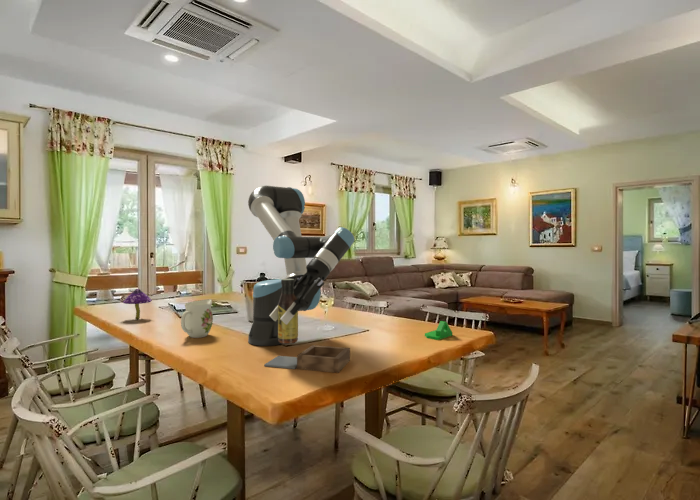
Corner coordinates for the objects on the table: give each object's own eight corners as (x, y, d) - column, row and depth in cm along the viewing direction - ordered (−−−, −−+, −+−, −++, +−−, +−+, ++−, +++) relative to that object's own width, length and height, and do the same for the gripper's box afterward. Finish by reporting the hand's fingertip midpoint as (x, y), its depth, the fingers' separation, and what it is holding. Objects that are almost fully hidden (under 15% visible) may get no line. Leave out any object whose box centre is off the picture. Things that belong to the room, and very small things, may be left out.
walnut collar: (297, 368, 121) (297, 355, 121) (312, 357, 134) (312, 345, 134) (338, 372, 118) (338, 359, 118) (349, 360, 130) (349, 348, 130)
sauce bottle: (278, 340, 129) (278, 278, 129) (298, 339, 129) (298, 277, 129) (277, 345, 122) (276, 279, 122) (297, 344, 123) (297, 279, 123)
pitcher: (169, 340, 154) (169, 304, 154) (199, 330, 172) (199, 298, 172) (194, 342, 152) (194, 306, 151) (221, 332, 169) (221, 299, 169)
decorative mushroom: (118, 319, 195) (118, 288, 194) (145, 316, 204) (145, 286, 204) (129, 323, 187) (129, 290, 186) (156, 319, 196) (156, 288, 196)
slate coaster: (264, 366, 123) (264, 364, 123) (278, 357, 133) (278, 355, 133) (294, 369, 121) (294, 367, 121) (306, 359, 130) (306, 358, 130)
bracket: (435, 333, 173) (436, 317, 173) (452, 336, 168) (452, 319, 168) (421, 338, 164) (421, 321, 164) (437, 341, 159) (438, 323, 159)
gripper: (345, 274, 128) (302, 332, 118) (312, 271, 143) (270, 322, 133) (332, 258, 124) (286, 316, 114) (299, 256, 139) (255, 308, 129)
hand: (277, 320), depth 123 cm, fingers closed on sauce bottle, 6 cm apart
